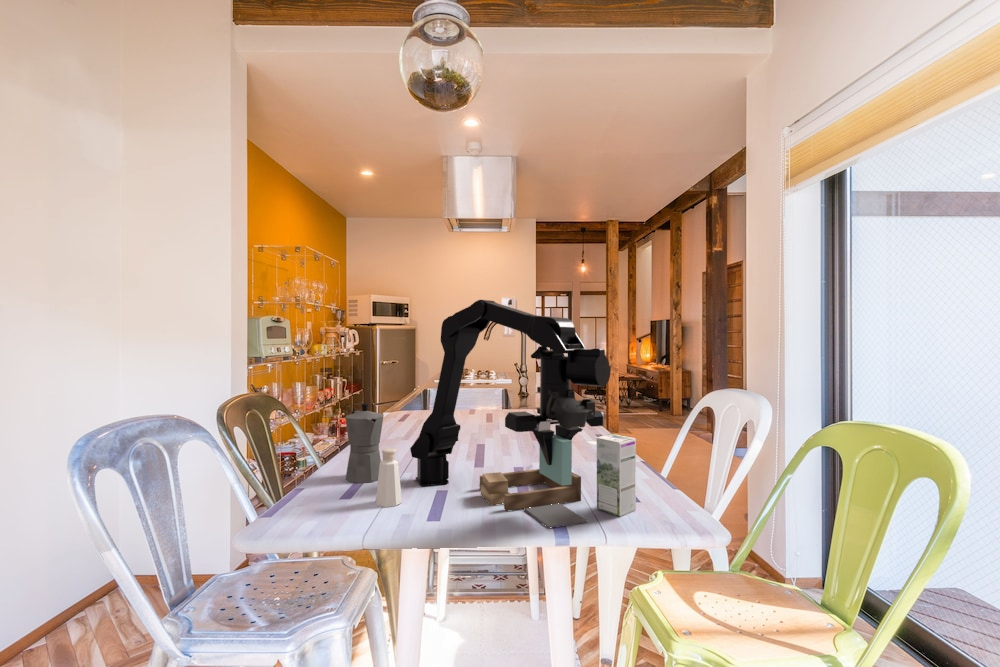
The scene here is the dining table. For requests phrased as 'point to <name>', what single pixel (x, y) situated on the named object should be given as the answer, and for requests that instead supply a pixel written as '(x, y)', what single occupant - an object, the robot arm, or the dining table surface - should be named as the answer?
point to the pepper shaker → (388, 480)
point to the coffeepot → (363, 445)
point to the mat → (555, 515)
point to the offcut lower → (492, 496)
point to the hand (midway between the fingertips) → (554, 464)
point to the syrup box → (616, 474)
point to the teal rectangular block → (558, 461)
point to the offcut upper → (495, 483)
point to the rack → (538, 496)
